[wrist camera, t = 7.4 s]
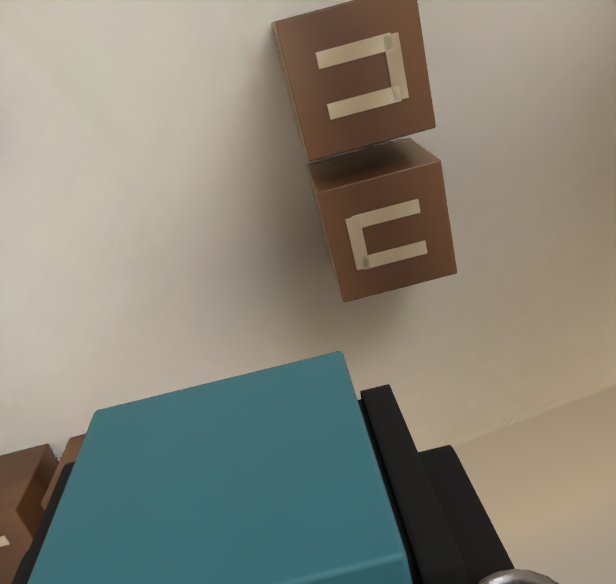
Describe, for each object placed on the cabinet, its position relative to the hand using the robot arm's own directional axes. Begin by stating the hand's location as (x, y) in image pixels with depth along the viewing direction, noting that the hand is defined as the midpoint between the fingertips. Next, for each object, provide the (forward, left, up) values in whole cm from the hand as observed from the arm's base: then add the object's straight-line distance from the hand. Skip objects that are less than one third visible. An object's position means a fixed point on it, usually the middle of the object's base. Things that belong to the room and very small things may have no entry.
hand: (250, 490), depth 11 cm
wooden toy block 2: (-5, 0, -16) cm, 17 cm away
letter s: (0, 0, 0) cm, 0 cm away
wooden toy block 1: (-5, -5, -16) cm, 17 cm away
